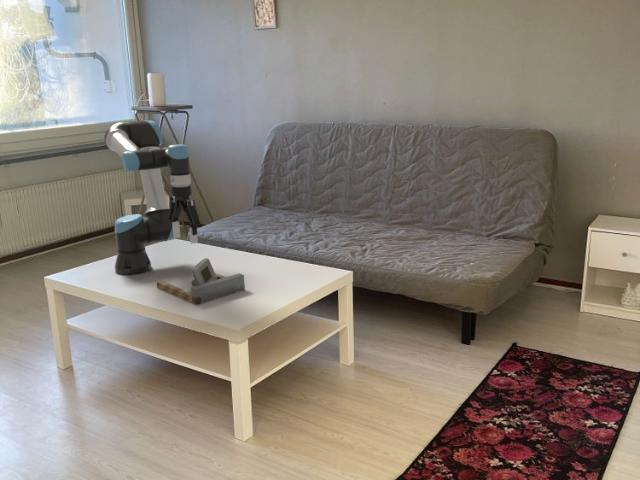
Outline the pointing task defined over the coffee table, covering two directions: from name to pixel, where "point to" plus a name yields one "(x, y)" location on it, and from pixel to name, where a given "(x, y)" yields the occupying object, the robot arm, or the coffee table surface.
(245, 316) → the coffee table surface
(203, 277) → the digital clock
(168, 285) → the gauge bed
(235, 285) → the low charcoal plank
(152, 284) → the coffee table surface
